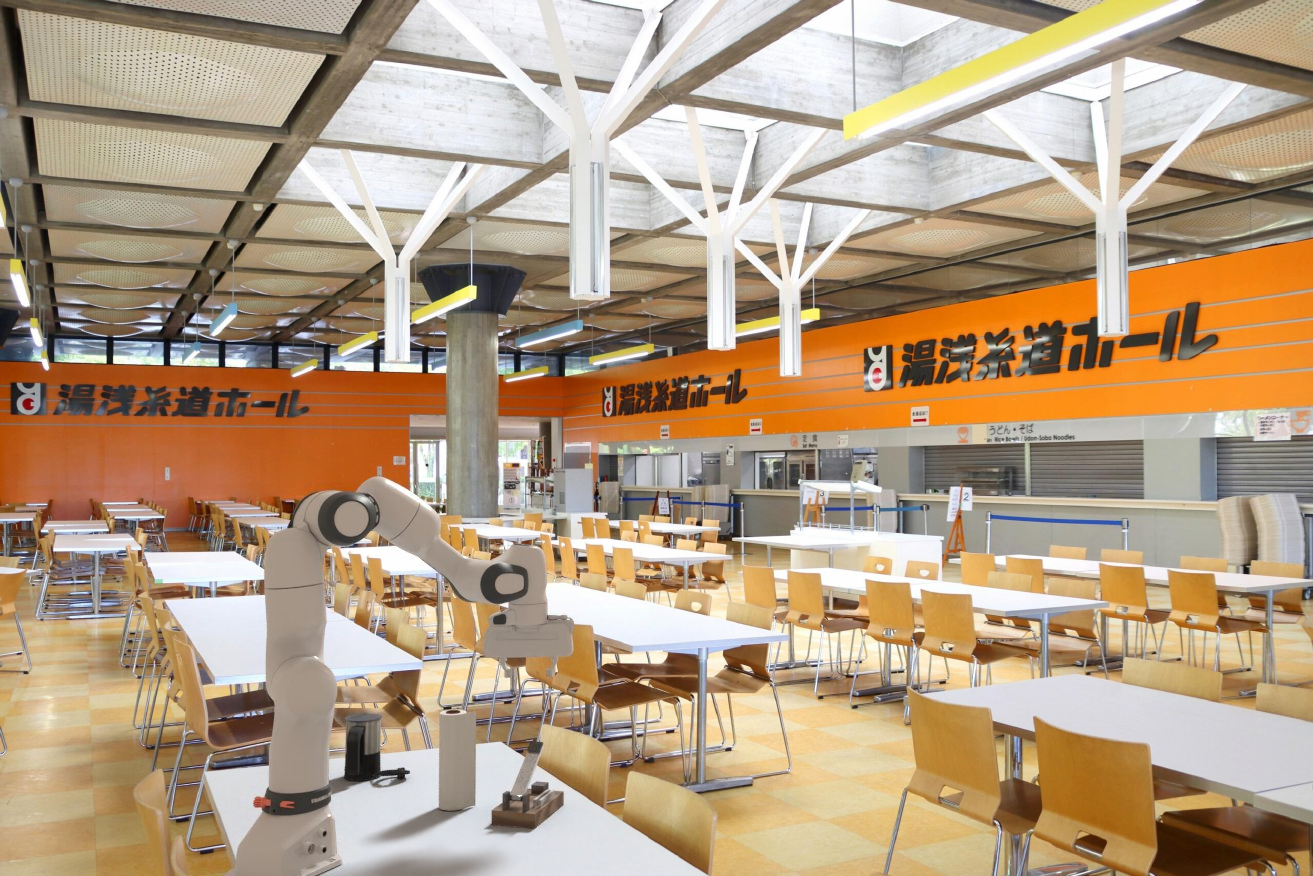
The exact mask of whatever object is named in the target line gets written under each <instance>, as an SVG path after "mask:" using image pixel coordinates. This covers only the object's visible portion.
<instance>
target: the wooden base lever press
mask: <svg viewBox="0 0 1313 876" xmlns="http://www.w3.org/2000/svg"><path fill="white" fill-rule="evenodd" d="M530 786H531V788H528V789H527V791H526V793H525V794H524V795H523V802H521V801H509V799H508V798H509V795H510V793H511V791H509V790H506V791H504V792H502V802H501V803H500V804H498V805H496V806H495V807H494V808H493V809H491V823H490V825H494V826H502V827H503V826H504V827H513V826H516V827H517V828H524V827H525V828H529V829H536V828H537V826H538V827H539V826H540V825H541V824H543V823H544V822H545V821H546V820H547V819H548V818H549V817H551V816H552V815H553V814H555V813H556V812H557V811H558V810H560V809H561V808H562V807H563V806H564V805H565V804H564V801H565V794H564V792H565V791H564V790H563V791H562V790H555V789H549V788H550V787H549V782H548V781H538V780H537V781H535V782H534V783H532V784H531V785H530ZM516 827H515V828H516Z"/></svg>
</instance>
